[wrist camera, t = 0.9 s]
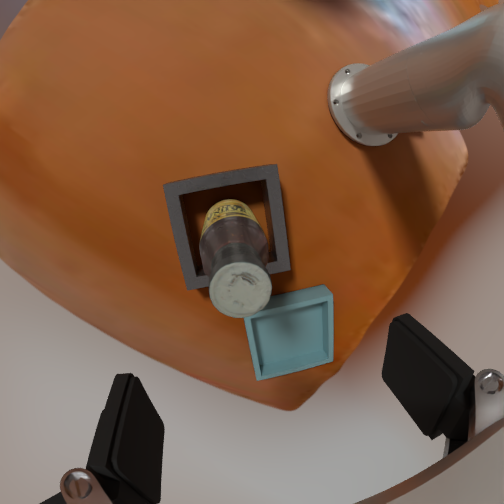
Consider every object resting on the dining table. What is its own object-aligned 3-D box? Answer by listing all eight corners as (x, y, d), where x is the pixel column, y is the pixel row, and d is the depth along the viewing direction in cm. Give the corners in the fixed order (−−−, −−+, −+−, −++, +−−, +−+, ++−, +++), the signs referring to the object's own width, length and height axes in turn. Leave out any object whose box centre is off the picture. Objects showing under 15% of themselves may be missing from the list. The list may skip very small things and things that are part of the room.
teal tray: (323, 284, 41) (332, 294, 37) (325, 349, 45) (333, 361, 42) (240, 302, 40) (243, 314, 36) (253, 366, 44) (257, 380, 40)
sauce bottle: (238, 188, 35) (271, 216, 16) (261, 230, 37) (313, 298, 18) (193, 214, 35) (174, 272, 16) (217, 254, 37) (227, 345, 18)
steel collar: (269, 164, 34) (277, 164, 31) (282, 259, 39) (290, 269, 35) (168, 182, 33) (163, 184, 29) (189, 277, 37) (187, 290, 34)
